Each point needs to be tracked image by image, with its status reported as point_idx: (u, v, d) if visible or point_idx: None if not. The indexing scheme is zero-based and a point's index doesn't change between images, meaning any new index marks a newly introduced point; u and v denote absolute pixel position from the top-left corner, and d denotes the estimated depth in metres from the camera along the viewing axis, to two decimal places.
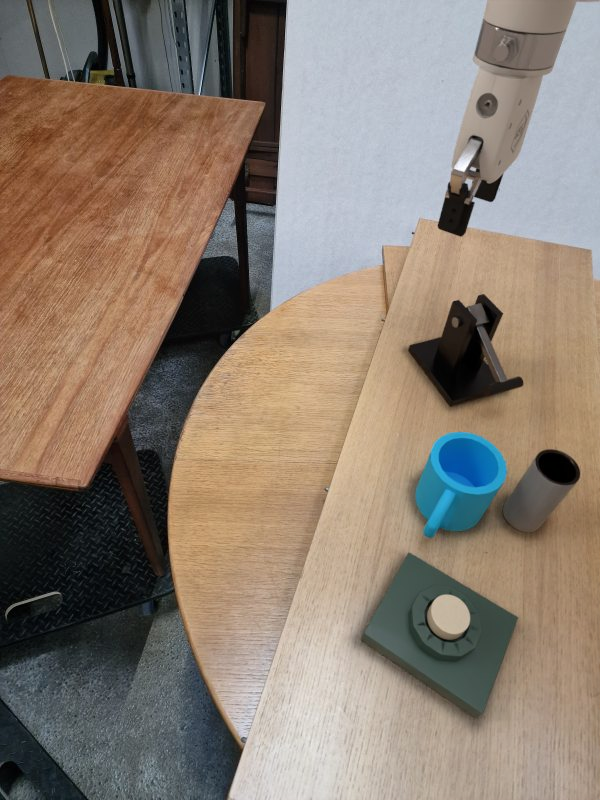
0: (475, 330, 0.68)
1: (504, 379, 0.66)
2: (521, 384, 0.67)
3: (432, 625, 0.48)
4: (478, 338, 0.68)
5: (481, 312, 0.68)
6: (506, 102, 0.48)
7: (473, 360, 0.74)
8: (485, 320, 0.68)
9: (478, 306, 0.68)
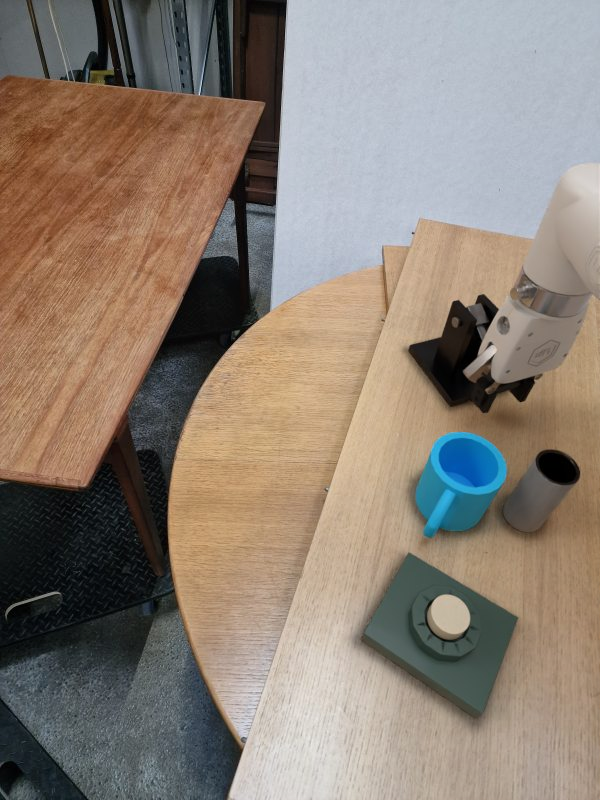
0: (475, 330, 0.68)
1: None
2: (521, 384, 0.67)
3: (432, 625, 0.48)
4: (478, 338, 0.68)
5: (481, 312, 0.68)
6: (515, 330, 0.55)
7: (473, 360, 0.74)
8: (485, 320, 0.68)
9: (478, 306, 0.68)
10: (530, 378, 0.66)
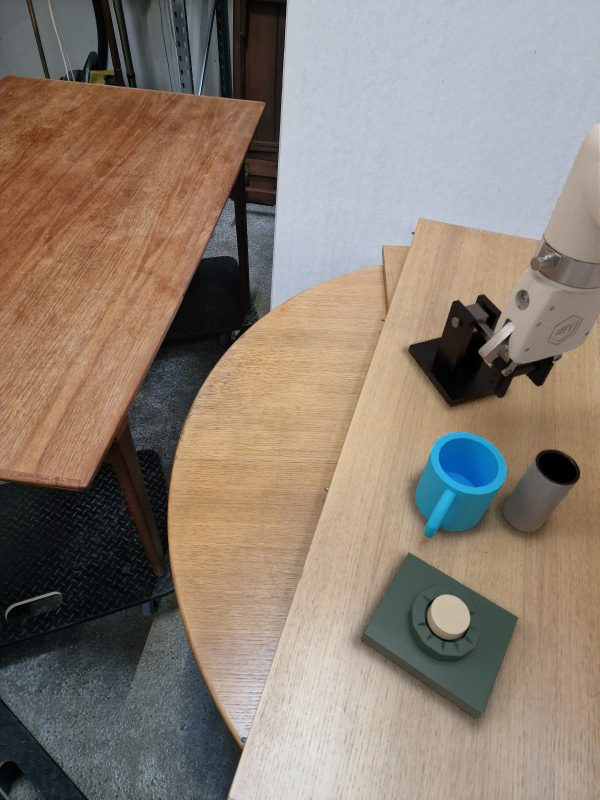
0: (477, 327, 0.68)
1: None
2: (537, 365, 0.63)
3: (432, 625, 0.48)
4: (482, 333, 0.67)
5: (480, 310, 0.68)
6: (535, 304, 0.52)
7: (473, 360, 0.74)
8: (485, 315, 0.68)
9: (475, 305, 0.69)
10: (548, 360, 0.62)
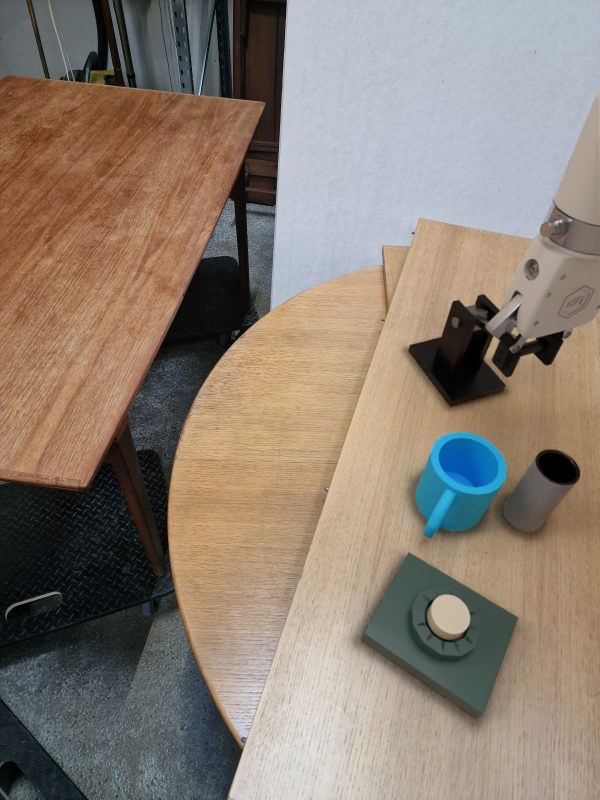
0: (478, 323, 0.67)
1: None
2: (545, 342, 0.61)
3: (432, 625, 0.48)
4: (483, 328, 0.67)
5: (478, 308, 0.69)
6: (545, 272, 0.49)
7: (473, 360, 0.74)
8: (484, 311, 0.68)
9: (473, 305, 0.69)
10: (558, 337, 0.60)
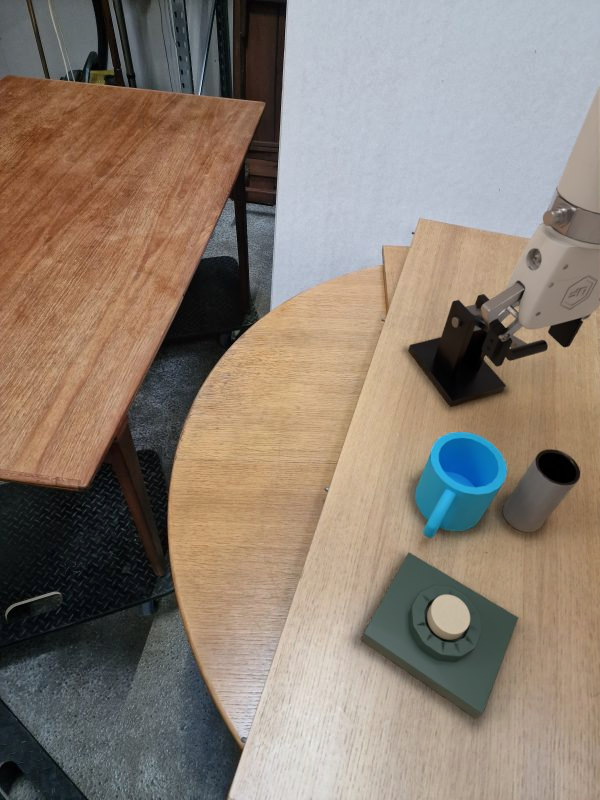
0: (478, 323, 0.67)
1: (523, 343, 0.62)
2: (544, 344, 0.61)
3: (432, 625, 0.48)
4: (483, 328, 0.67)
5: (478, 308, 0.68)
6: (548, 262, 0.49)
7: (473, 360, 0.74)
8: None
9: (473, 305, 0.69)
10: None
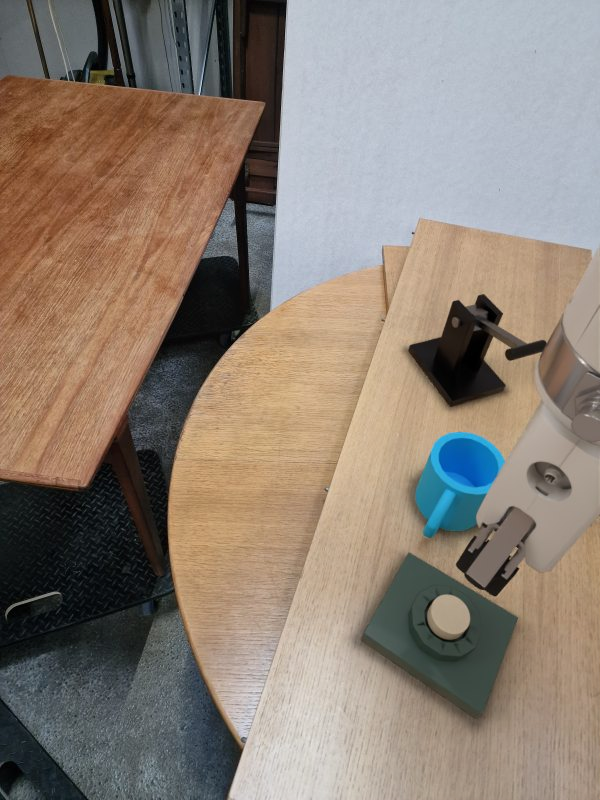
0: (478, 323, 0.67)
1: (523, 343, 0.62)
2: (544, 344, 0.61)
3: (432, 625, 0.48)
4: (483, 328, 0.67)
5: (478, 308, 0.68)
6: (589, 494, 0.23)
7: (473, 360, 0.74)
8: (484, 312, 0.68)
9: (473, 305, 0.69)
10: None
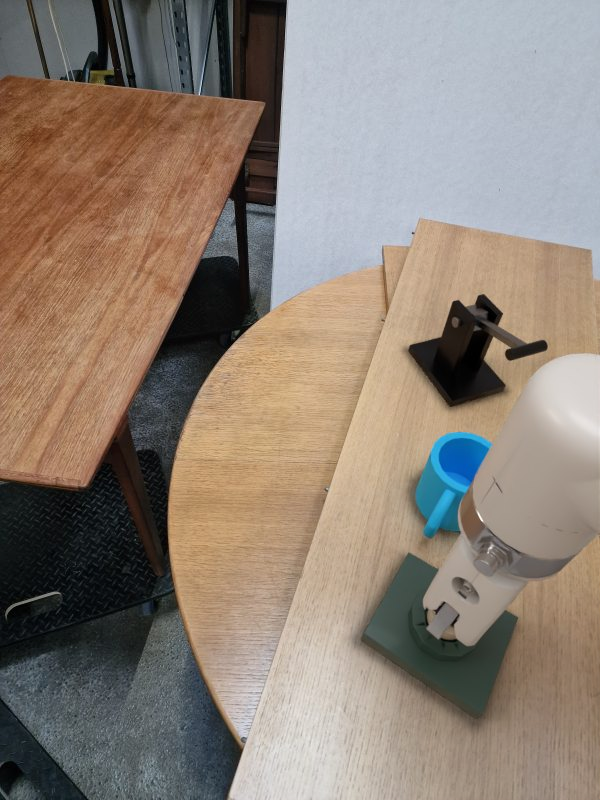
0: (478, 323, 0.67)
1: (523, 343, 0.62)
2: (544, 344, 0.61)
3: None
4: (483, 328, 0.67)
5: (478, 308, 0.68)
6: (491, 603, 0.33)
7: (473, 360, 0.74)
8: (484, 312, 0.68)
9: (473, 305, 0.69)
10: None
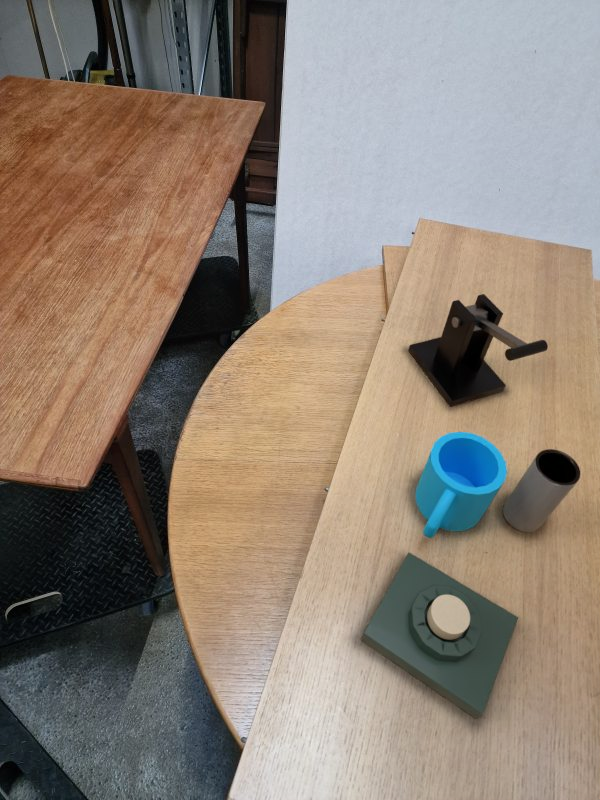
0: (478, 323, 0.67)
1: (523, 343, 0.62)
2: (544, 344, 0.61)
3: (432, 625, 0.48)
4: (483, 328, 0.67)
5: (478, 308, 0.68)
6: None
7: (473, 360, 0.74)
8: (484, 312, 0.68)
9: (473, 305, 0.69)
10: None
